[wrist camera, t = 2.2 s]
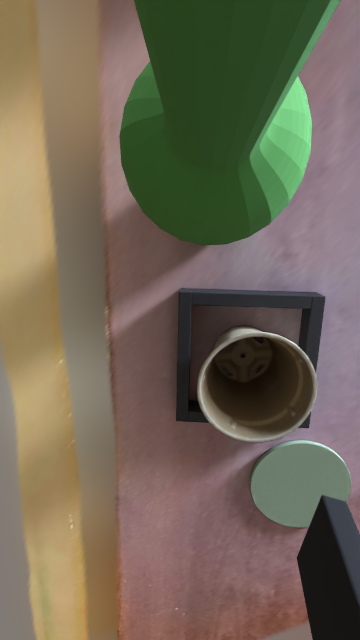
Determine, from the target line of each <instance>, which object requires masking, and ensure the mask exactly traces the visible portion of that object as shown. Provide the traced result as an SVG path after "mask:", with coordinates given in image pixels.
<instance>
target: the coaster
mask: <svg viewBox="0 0 360 640" xmlns="http://www.w3.org/2000/svg"><path fill="white" fill-rule="evenodd" d="M250 489H251V494H252V498H253V500H254V503H255V504H256V506H257V508H258V509H259V510H260V511H261V512H262V513H263V514H264V515H265V516H266V517H268V518H269V519H270V520H272V521H274V522H276V523H279V524H281V525H285V526H289V527H309V526H310V523H311V521H312V518H313V516H314V513H315V511H316V508H317V506H318V503H319V500H320V498H321V495H324V496H328V497H332V498H335V499H339V500H342V501H346V502H347V500H348V498H349V495H350V491H351V477H350V473H349V470H348V468H347V466H346V464H345V463H344V461H343V460H342V459H341V457H340V456H339V455H338V454H337V453H336V452H335V451H333V450H332V449H330V448H329V447H327V446H325V445H323V444H320V443H317V442H313V441H307V440H296V441H289V442H285V443H282V444H279V445H277V446H275V447H273V448H271V449H270V450H268V451H267V452H266V453H264V454H263V455H262V456H261V457H260V458H259V460H258V461H257V462H256V464H255V466H254V468H253V470H252V473H251V477H250Z"/></svg>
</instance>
